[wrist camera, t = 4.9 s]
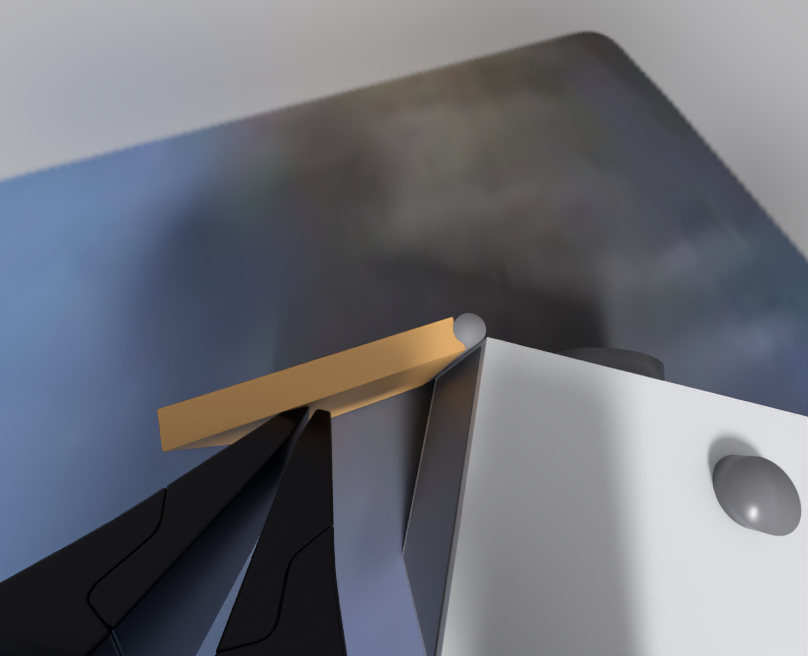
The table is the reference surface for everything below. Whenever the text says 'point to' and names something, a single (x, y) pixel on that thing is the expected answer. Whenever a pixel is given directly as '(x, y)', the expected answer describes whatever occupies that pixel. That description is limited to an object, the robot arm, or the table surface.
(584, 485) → the white block
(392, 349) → the side door
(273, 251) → the table surface
